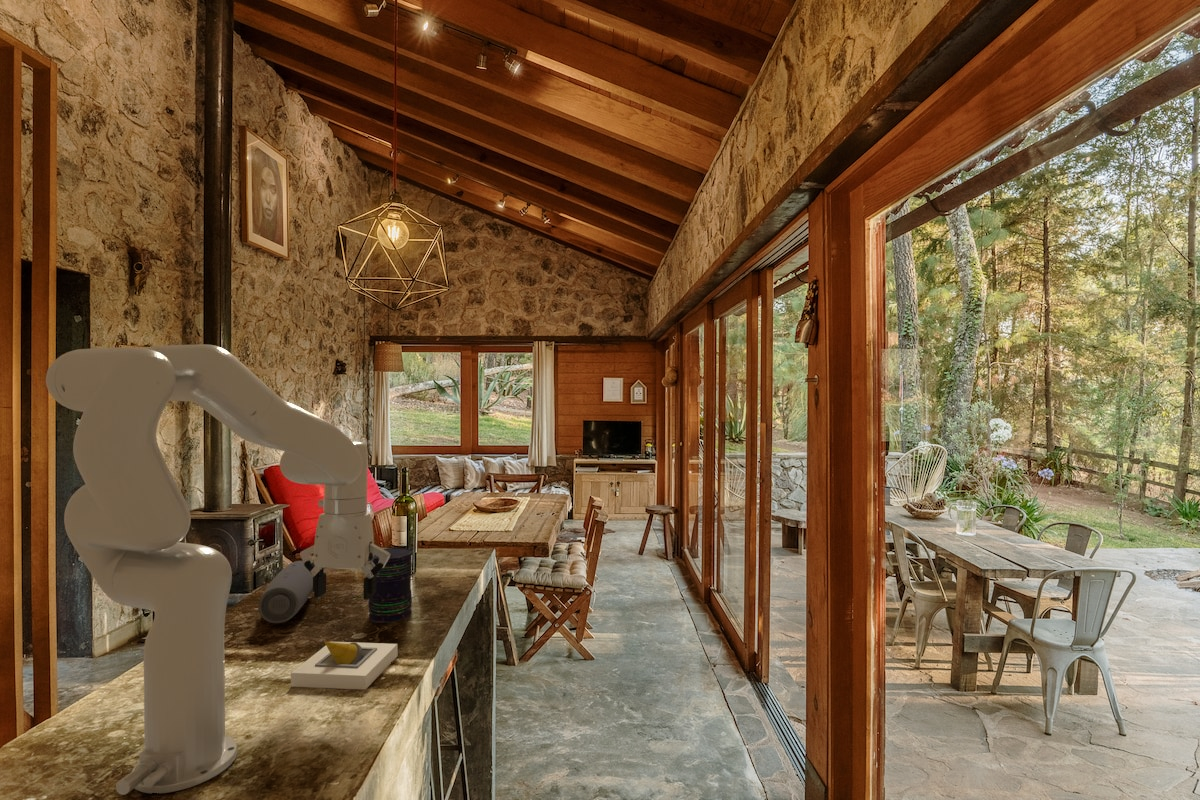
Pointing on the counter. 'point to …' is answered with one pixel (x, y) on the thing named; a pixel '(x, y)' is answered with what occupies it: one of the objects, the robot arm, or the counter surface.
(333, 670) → the square frame plate
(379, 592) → the black cylinder
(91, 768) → the counter surface
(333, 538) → the robot arm
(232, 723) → the counter surface
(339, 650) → the yellow ridged cone
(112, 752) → the counter surface
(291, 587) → the bluetooth speaker
